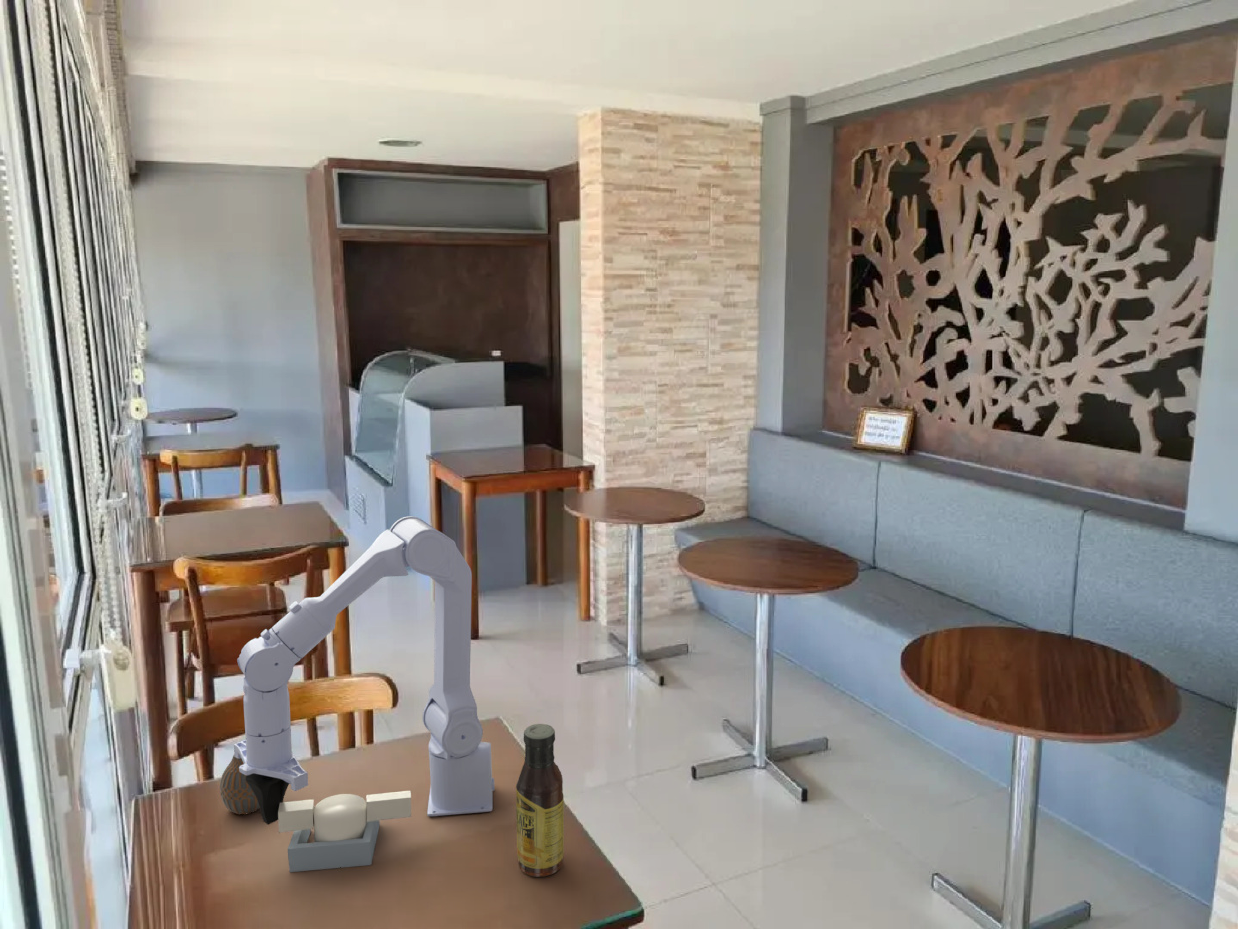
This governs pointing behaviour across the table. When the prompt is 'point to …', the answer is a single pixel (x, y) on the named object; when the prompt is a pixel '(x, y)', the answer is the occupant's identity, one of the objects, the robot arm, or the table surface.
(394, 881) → the table surface
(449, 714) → the robot arm
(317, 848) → the holder
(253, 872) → the table surface
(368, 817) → the cream egg with arms
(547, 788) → the sauce bottle
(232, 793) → the vase
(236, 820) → the table surface
